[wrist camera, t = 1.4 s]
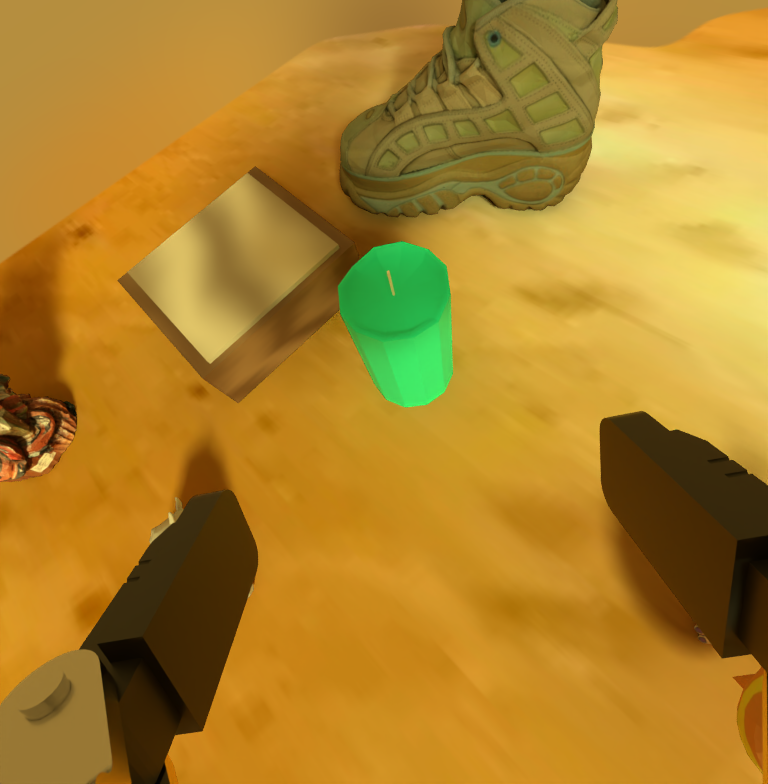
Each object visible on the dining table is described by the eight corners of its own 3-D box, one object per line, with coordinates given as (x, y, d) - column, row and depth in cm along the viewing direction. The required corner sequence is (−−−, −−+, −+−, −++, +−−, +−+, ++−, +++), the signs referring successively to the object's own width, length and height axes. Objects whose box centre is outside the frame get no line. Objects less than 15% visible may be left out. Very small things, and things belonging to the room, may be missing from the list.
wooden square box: (278, 211, 40) (253, 162, 35) (367, 283, 36) (353, 238, 31) (159, 314, 38) (113, 277, 33) (238, 403, 34) (199, 376, 29)
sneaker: (377, 126, 42) (338, -87, 28) (588, 155, 37) (668, -89, 23) (334, 215, 39) (265, 26, 25) (557, 259, 34) (627, 52, 20)
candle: (434, 321, 33) (423, 205, 22) (466, 389, 31) (471, 297, 20) (361, 350, 33) (314, 249, 22) (388, 419, 31) (349, 345, 20)
